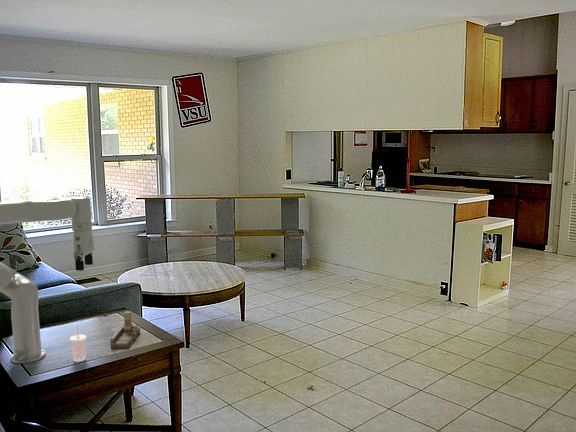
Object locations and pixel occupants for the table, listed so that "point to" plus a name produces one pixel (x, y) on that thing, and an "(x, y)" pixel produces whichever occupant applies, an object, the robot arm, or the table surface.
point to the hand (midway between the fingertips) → (84, 267)
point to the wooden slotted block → (123, 337)
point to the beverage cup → (78, 346)
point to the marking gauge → (128, 322)
